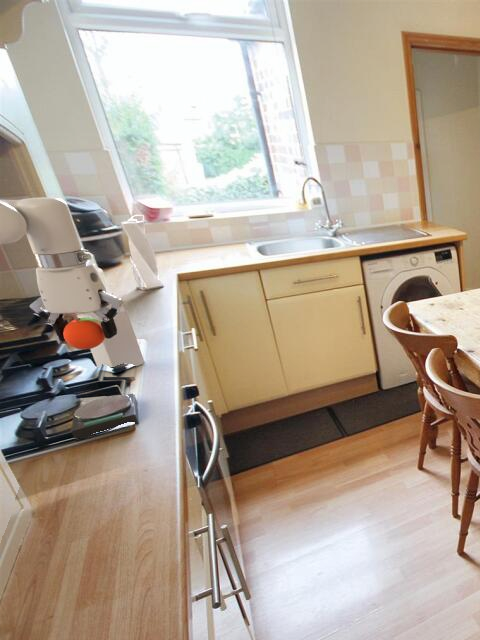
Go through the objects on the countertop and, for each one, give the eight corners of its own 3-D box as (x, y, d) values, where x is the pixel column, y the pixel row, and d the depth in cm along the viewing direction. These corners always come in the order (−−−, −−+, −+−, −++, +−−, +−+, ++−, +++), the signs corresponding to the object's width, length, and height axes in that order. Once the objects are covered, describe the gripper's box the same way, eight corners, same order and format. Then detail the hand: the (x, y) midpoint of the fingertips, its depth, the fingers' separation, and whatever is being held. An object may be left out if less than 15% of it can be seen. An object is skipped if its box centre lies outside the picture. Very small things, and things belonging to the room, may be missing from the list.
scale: (79, 417, 99) (73, 405, 98) (137, 402, 105) (133, 391, 104) (75, 441, 91) (70, 429, 90) (138, 424, 97) (134, 412, 96)
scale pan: (77, 407, 98) (75, 403, 98) (131, 393, 103) (130, 390, 103) (74, 426, 91) (72, 423, 91) (132, 411, 97) (131, 408, 96)
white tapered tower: (161, 282, 191) (139, 213, 180) (169, 286, 187) (147, 214, 176) (136, 287, 185) (112, 215, 174) (144, 291, 180) (120, 217, 169)
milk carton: (98, 370, 119) (70, 299, 112) (128, 358, 125) (103, 291, 118) (115, 375, 117) (88, 303, 109) (145, 363, 123) (121, 294, 115)
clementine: (120, 340, 108) (111, 311, 106) (107, 351, 102) (97, 321, 100) (78, 343, 106) (67, 314, 103) (62, 355, 100) (50, 325, 97)
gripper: (119, 254, 102) (142, 329, 108) (25, 257, 98) (55, 334, 105) (98, 262, 95) (124, 341, 102) (-3, 265, 91) (30, 346, 98)
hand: (89, 337), depth 103 cm, fingers closed on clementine, 8 cm apart
